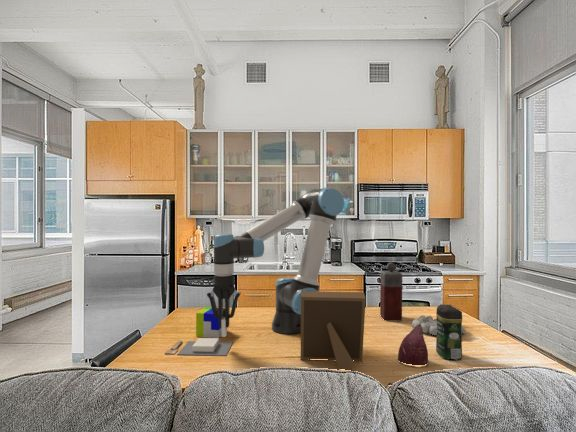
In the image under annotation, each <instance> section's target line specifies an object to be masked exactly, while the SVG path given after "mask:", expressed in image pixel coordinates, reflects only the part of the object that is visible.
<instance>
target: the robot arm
mask: <svg viewBox="0 0 576 432" xmlns="http://www.w3.org/2000/svg"><path fill="white" fill-rule="evenodd" d="M344 207H345V199H344V196H343V195H342V193H341V192H340V191H339V190H338V189H337V188H333V187H324V188H316V189H315V188H314V189H312V190H310V191H307V192H306V193H305V194H303V195H302V196H300V197H298V198H296V199H295V200H293V201H292V203H291V205H289V206H287V207H286V208H284V209H282V210H281V211H279V212H277V213H275V214H273V215H272V216H271V217H269V218H267V219H266V220H265V219H264V220H263V221H262V222H260V223H258V224H257V225H255V226H253V227H252V228H250V229H248V230H247V231H245V232H242V233H241V234H240V235H235V236H234V235H233V234H232V233H219V234H215V235H214V237H213V274H214V275H213V288H212V290H210V291H209V292H207V293H206V296H207V298H208V299H209V301H210V305H211V307H212V311H213V315H214V317H215V318H218V319H219V327H221V330H222V335H221V338H222V337H223V338H226V337H227V335H228V332H227V331H228V328H229V327H230V319H231V318H234V316H235V313H236V307H237V305H238V301H239V298H240V295H241V294H242V293H241V291H238V290H237V289H236V288H235V283H234V282H235V281H234V280H235V277H234V272H235V271H234V270H235V269H234V268H235V267H234V266H235V262H234V259H247V258H249V259H250V258H252V259H255V258H261V257H262V256H263V255H264V253H265V243H264V242H265V241H266V240H268V239H270V238H271V237H274V236H275V235H277V234H279V233H280V232H281V231H283V230H285V229H286V228H288V227H290V226H291V225H293V224H295V223H297V222H298V221H300V220H306V219H308V218H309V219H310V222H309V227H308V231H307V236H306V239H305V244H304V247H303V252H302V256H301V259H300V260H301V261H300V264H299V267H298V270H297V271H298V272H297V275H295V276H294V277H282V278H277V280H276V283H275V313H274V317H273V320H272V323H271V330H272V331H273V332H275V333H278V334H284V335H293V334H299V333H300V334H301V291H315V292H319V289H320V282H319V281H318V278H319V274H320V270H321V266H322V262H323V258H324V254H325V249H326V246H327V241H328V237H329V233H330V230H331V226H332V225H333V224H335V223H336V219H337V216H338V215H339V214H342V212H343V209H344ZM232 295H233V297H234V298H233V301H232V305H230V302H231V301H230V299H231V296H232ZM215 296H216V297H217V302H218V303H216V300H215ZM217 304H218V307H217ZM230 306H232V307H231V310H230ZM217 308H218V311H217ZM223 308H225V318H223ZM218 313H219V314H218Z"/></svg>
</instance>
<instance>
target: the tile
mask: <svg viewBox="0 0 576 432" xmlns="http://www.w3.org/2000/svg"><path fill="white" fill-rule="evenodd" d="M195 341H196V342H195V343H194V345H193V346H192V351H193V352H214V351H215V349H216V347H217V346H218V344H219V342H220V337H219V338H211V337H197V340H195Z"/></svg>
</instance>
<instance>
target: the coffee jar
mask: <svg viewBox="0 0 576 432" xmlns="http://www.w3.org/2000/svg"><path fill="white" fill-rule="evenodd" d="M436 318H437V336H435V337H436V339H435V340H436V343H435V345H436V346H435V352H436V353H437V355H438V356H440V357H441V356H442V357H444V358H449V359H459V360H461V359H462V358H463V344H462V340H463V338H462V337H463V336H462V335H463V334H462V332H461V327H462V326H463V311H462V310H460V309H458V308H457V307H455V306H453V305H452V304H439V305H438V306H437V307H436ZM442 357H441V358H442ZM444 358H443V359H444ZM460 358H461V359H460ZM449 359H448V360H449Z"/></svg>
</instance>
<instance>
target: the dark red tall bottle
mask: <svg viewBox="0 0 576 432" xmlns="http://www.w3.org/2000/svg"><path fill="white" fill-rule="evenodd" d="M386 264H387V265H386V269H387V270H381V271H380V299H379V301H380V306H379V307H380V309H379V311H380V312H379V316H380V315H381V316H380V318H381V317H382V318H383V319H384V320H402V321H403V274H402V273H401V272H400V271H398V270H397V264H395V263H394V262H388V263H386ZM382 318H381V319H382ZM383 319H382V320H383Z"/></svg>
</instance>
